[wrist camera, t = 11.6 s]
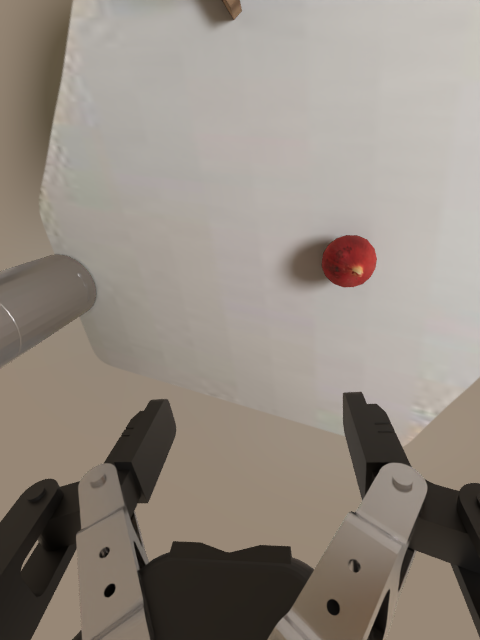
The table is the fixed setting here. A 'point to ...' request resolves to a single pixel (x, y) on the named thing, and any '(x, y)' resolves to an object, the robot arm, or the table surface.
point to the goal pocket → (233, 7)
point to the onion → (349, 261)
